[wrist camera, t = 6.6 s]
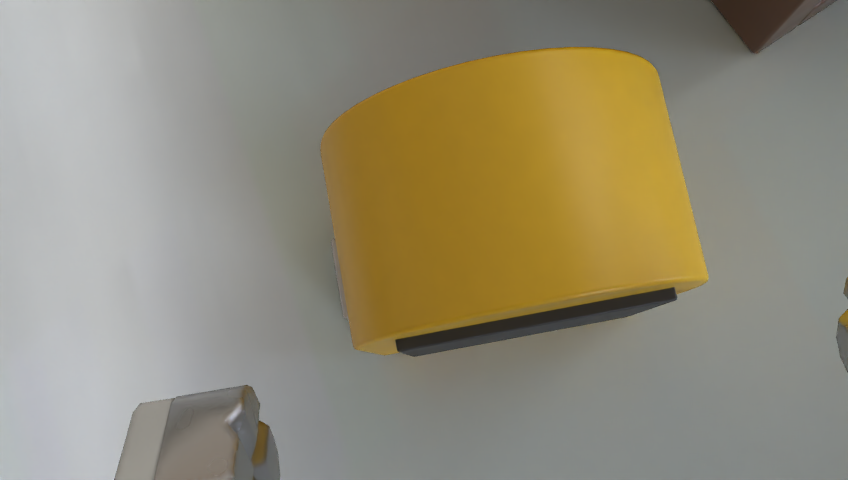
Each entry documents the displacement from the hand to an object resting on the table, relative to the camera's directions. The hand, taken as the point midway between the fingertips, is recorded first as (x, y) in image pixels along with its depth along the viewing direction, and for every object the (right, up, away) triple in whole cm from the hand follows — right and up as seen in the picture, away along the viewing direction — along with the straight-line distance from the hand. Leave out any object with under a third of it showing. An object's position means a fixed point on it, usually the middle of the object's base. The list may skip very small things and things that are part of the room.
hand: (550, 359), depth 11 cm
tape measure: (0, +1, +7) cm, 7 cm away
